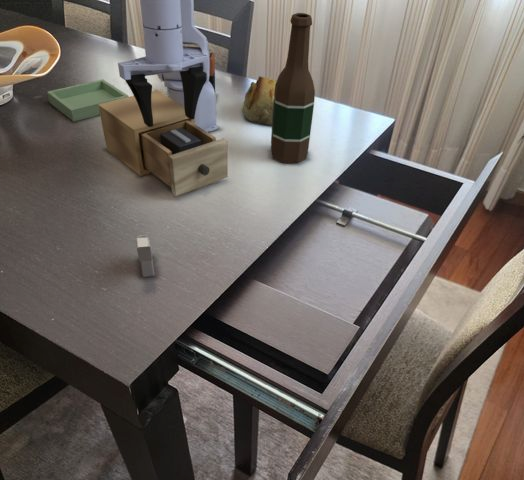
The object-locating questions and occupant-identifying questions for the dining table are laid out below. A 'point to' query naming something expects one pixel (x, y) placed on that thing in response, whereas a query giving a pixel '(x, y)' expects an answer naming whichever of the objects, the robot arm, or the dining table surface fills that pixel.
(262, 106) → the pastry
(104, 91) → the tray
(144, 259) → the grey upright block
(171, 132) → the black rectangular block
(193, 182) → the drawer
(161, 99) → the cabinet
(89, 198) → the dining table surface
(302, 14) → the beer bottle
